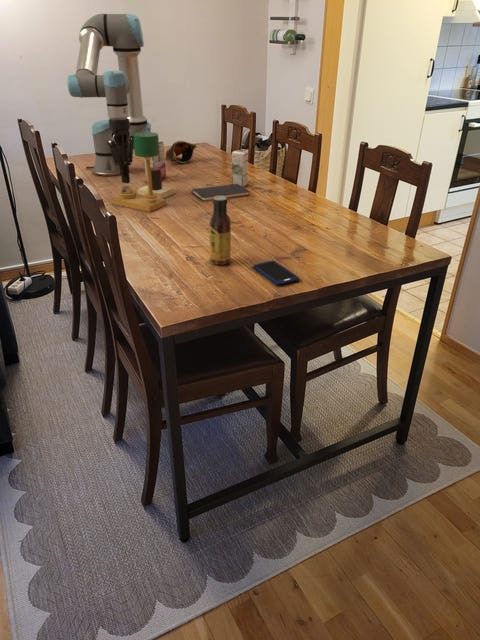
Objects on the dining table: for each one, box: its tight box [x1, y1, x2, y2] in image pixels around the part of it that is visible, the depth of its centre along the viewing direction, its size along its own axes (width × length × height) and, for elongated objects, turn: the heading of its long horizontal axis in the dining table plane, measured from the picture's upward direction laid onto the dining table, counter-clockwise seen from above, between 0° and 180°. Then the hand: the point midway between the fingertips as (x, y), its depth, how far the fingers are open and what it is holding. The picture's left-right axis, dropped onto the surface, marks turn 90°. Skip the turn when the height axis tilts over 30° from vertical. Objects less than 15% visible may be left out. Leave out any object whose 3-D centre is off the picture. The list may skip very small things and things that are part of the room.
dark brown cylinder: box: [151, 167, 163, 190], centre depth 199 cm, size 6×6×8 cm
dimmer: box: [136, 184, 175, 199], centre depth 201 cm, size 12×10×3 cm
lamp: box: [133, 131, 160, 199], centre depth 180 cm, size 9×9×23 cm
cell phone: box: [252, 260, 300, 286], centre depth 138 cm, size 7×14×1 cm, turn 30°
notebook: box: [191, 183, 250, 202], centre depth 203 cm, size 13×2×21 cm
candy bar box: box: [143, 140, 167, 183], centre depth 217 cm, size 11×5×16 cm, turn 161°
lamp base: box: [113, 189, 167, 213], centre depth 190 cm, size 18×10×4 cm, turn 60°
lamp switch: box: [121, 185, 133, 194], centre depth 191 cm, size 4×4×2 cm
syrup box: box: [231, 149, 249, 188], centre depth 212 cm, size 6×6×14 cm
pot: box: [165, 140, 199, 164], centre depth 251 cm, size 17×11×18 cm
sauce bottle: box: [208, 196, 232, 266], centre depth 140 cm, size 7×6×20 cm
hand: (126, 182), depth 189 cm, fingers closed
